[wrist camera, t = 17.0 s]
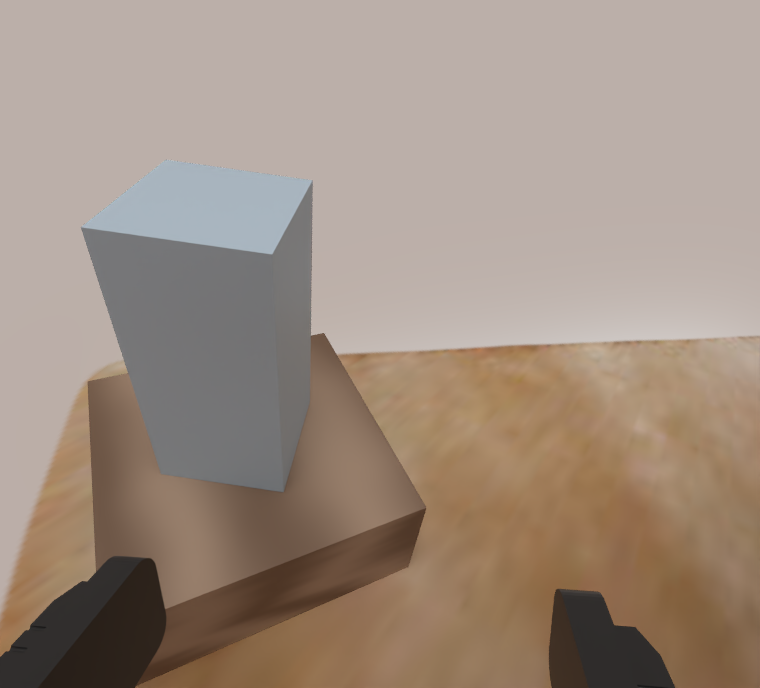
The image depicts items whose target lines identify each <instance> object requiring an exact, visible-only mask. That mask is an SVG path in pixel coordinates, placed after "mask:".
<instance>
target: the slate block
mask: <svg viewBox="0 0 760 688" xmlns="http://www.w3.org/2000/svg"><path fill="white" fill-rule="evenodd" d="M312 183H313V181H312V180H306V179H299V178H292V177H284V176H277V175H270V174H263V173H256V172H249V171H242V170H235V169H228V168H221V167H214V166H207V165H200V164H193V163H185V162H178V161H171V160H165V161H164V162H162V163H161V164H160V165H159V166H157V167H156V168H155V169H154V170H152V171H151V172H150V173H148V174H147V175H146V176H145V177H143V178H142V179H141V180H140V181H138V182H137V183H136V184H135V185H133V186H132V187H131V188H130V189H128V190H127V191H126V192H125V193H123V194H122V195H121V196H120V197H118V198H117V199H116V200H115V201H113V202H112V203H111V204H110V205H108V206H107V207H106V208H104V209H103V210H102V211H101V212H100V213H98V214H97V215H96V216H94V217H93V218H92V219H91V220H89V221H88V222H87V223H86V224H85V225H83V226H82V227H81V229H82V232H83V235H84V238H85V241H86V244H87V248H88V251H89V254H90V257H91V260H92V263H93V266H94V269H95V272H96V275H97V278H98V281H99V285H100V288H101V291H102V293H103V297H104V300H105V303H106V306H107V309H108V312H109V315H110V318H111V321H112V324H113V328H114V331H115V334H116V337H117V340H118V343H119V346H120V349H121V352H122V355H123V358H124V361H125V365H126V368H127V371H128V374H129V377H130V380H131V383H132V386H133V389H134V392H135V395H136V398H137V401H138V405H139V408H140V411H141V414H142V417H143V420H144V423H145V426H146V429H147V432H148V435H149V438H150V442H151V445H152V448H153V451H154V454H155V457H156V460H157V463H158V466H159V469H160V472H161V474H164V475H170V476H177V477H184V478H191V479H197V480H204V481H211V482H218V483H224V484H231V485H238V486H244V487H251V488H258V489H265V490H271V491H278V492H284V489H285V486H286V482H287V479H288V475H289V472H290V469H291V465H292V462H293V458H294V455H295V451H296V448H297V444H298V441H299V438H300V434H301V431H302V427H303V424H304V420H305V417H306V413H307V410H308V407H309V403H310V354H311V271H312V186H313V184H312Z"/></svg>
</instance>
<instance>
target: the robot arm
mask: <svg viewBox="0 0 760 688" xmlns="http://www.w3.org/2000/svg"><path fill="white" fill-rule="evenodd" d="M165 629H166V611H165V606H164V601H163V597H162V592H161V587H160V582H159V577H158V573H157V568H156V564H155V562H154V561H153V560H152V559H151V558H142V557H128V556H113V557H111V558H109V559H108V560H107V561H106V562H105V563H104V564H103V565H102V566H101V567H100V568H99V570H98V571H97V572H96V573H95V574H94V575H93V576H92V577H91V578H90V579H89V581H88V582H85V581H82V582H80V583H79V584H77V585H76V586H74V587H73V588H72V589H70V590H69V591H67V592H66V593H64V594H63V595H61V596H60V597H58V598H57V599H56V600H54V601H53V602H52V603H51V604H50V605H49V606H48V607H47V608H46V609H45V610H44V611H43V613H42V614H41V615H40V616H39V617H38V618H37V619H36V620H35V621H34V622H33V623H32V624H31V625H30V629H29V630H26V631H25V632H24V633H23V634H22V635H21V636H20V637H19V638H18V639H17V640H16V641H15V642H14V643H13V644H12V645H11V649H10V651H9V652H7V651H6V652H5V653H4V654H3V655H2V656H1V657H0V688H135V686H136V685H137V683H138V681H139V680H140V678H141V677H142V675H143V673H144V672H145V670H146V669H147V667H148V665H149V664H150V662H151V660H152V659H153V657H154V656H155V654H156V652H157V651H158V649H159V647H160V645H161V642H162V640H163V637H164V633H165ZM549 670H550V680H551V686H552V688H675V686H674V684H673V682H672V680H671V677H670V675H669V673H668V671H667V669H666V667H665V664H664V662H663V660H662V658H661V656H660V654H659V653H658V652H657V651H656V650H655V649H654V648H653V647H652V645H651V644H650V643H649V642H648V641H647V640H646V639H645V638H644V636H643V635H642V634H641V633H640V632H639V631H638V630H637V629H636V628H635V627H626V626H614V624H613V621H612V619H611V616H610V614H609V611H608V608H607V606H606V603H605V601H604V598H603V596H602V595H601V593H599V592H594V591H580V590H566V589H557V590H556V592H555V596H554V606H553V616H552V625H551V635H550V645H549Z"/></svg>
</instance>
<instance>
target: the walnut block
mask: <svg viewBox="0 0 760 688" xmlns="http://www.w3.org/2000/svg"><path fill="white" fill-rule="evenodd" d="M88 400H89V422H90V445H91V467H92V489H93V512H94V534H95V556H96V572H97V571H98V570H99V568H100V567H101V566H102V565H103V564H104V563H105V562H106V561H107V560H108V559H109V558H111V557H113V556H128V557H142V558H151V559H152V560H153V561H154V562H155V564H156V568H157V573H158V577H159V582H160V587H161V592H162V597H163V601H164V606H165V611H166V629H165V633H164V637H163V640H162V642H161V645H160V647H159V649H158V651H157V652H156V654H155V656H154V657H153V659H152V660H151V662H150V664H149V665H148V667H147V669H146V670H145V672H144V673H143V675H142V677H141V678H140V680H139V681H138V683H137V685H139V684H141V683H144V682H146V681H148V680H151V679H153V678H155V677H157V676H160V675H162V674H164V673H166V672H169V671H171V670H173V669H176V668H178V667H180V666H182V665H185V664H187V663H189V662H192V661H194V660H196V659H198V658H201V657H203V656H205V655H208V654H210V653H212V652H214V651H217V650H219V649H221V648H224V647H226V646H228V645H230V644H233V643H235V642H237V641H240V640H242V639H244V638H246V637H249V636H251V635H253V634H256V633H258V632H260V631H262V630H265V629H267V628H269V627H272V626H274V625H276V624H278V623H281V622H283V621H285V620H288V619H290V618H292V617H294V616H297V615H299V614H301V613H304V612H306V611H308V610H310V609H313V608H315V607H317V606H320V605H322V604H324V603H326V602H329V601H331V600H333V599H336V598H338V597H340V596H342V595H345V594H347V593H349V592H352V591H354V590H356V589H358V588H361V587H363V586H365V585H368V584H370V583H372V582H374V581H377V580H379V579H381V578H383V577H386V576H388V575H390V574H393V573H395V572H397V571H399V570H402V569H404V568H406V567H408V566H409V563H410V559H411V556H412V553H413V550H414V546H415V543H416V540H417V537H418V533H419V530H420V527H421V524H422V520H423V517H424V514H425V510H426V506H425V504H424V503H423V501H422V499H421V498H420V496H419V494H418V492H417V491H416V489H415V487H414V486H413V484H412V482H411V481H410V479H409V477H408V475H407V474H406V472H405V470H404V469H403V467H402V465H401V464H400V462H399V460H398V458H397V457H396V455H395V453H394V452H393V450H392V448H391V446H390V445H389V443H388V441H387V440H386V438H385V436H384V435H383V433H382V431H381V429H380V428H379V426H378V424H377V423H376V421H375V419H374V418H373V416H372V414H371V412H370V411H369V409H368V407H367V406H366V404H365V402H364V401H363V399H362V397H361V395H360V394H359V392H358V390H357V389H356V387H355V385H354V384H353V382H352V380H351V378H350V377H349V375H348V373H347V372H346V370H345V368H344V366H343V365H342V363H341V361H340V360H339V358H338V356H337V355H336V353H335V351H334V349H333V348H332V346H331V344H330V343H329V341H328V339H327V338H326V336H325V334H324V333H322V334H317V335H313V336H311V354H310V403H309V407H308V410H307V413H306V417H305V420H304V424H303V427H302V431H301V434H300V438H299V441H298V444H297V448H296V451H295V455H294V458H293V462H292V465H291V469H290V472H289V475H288V479H287V482H286V486H285V489H284V492H278V491H271V490H265V489H258V488H251V487H244V486H238V485H231V484H224V483H218V482H211V481H204V480H197V479H191V478H184V477H177V476H170V475H164V474H161V472H160V469H159V466H158V463H157V460H156V457H155V454H154V451H153V448H152V445H151V442H150V438H149V435H148V432H147V429H146V426H145V423H144V420H143V417H142V414H141V411H140V408H139V405H138V401H137V398H136V395H135V392H134V389H133V386H132V383H131V380H130V377H129V374H128V373H127V374H122V375H117V376H112V377H107V378H102V379H98V380H93V381H88ZM137 685H136V686H137Z"/></svg>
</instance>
